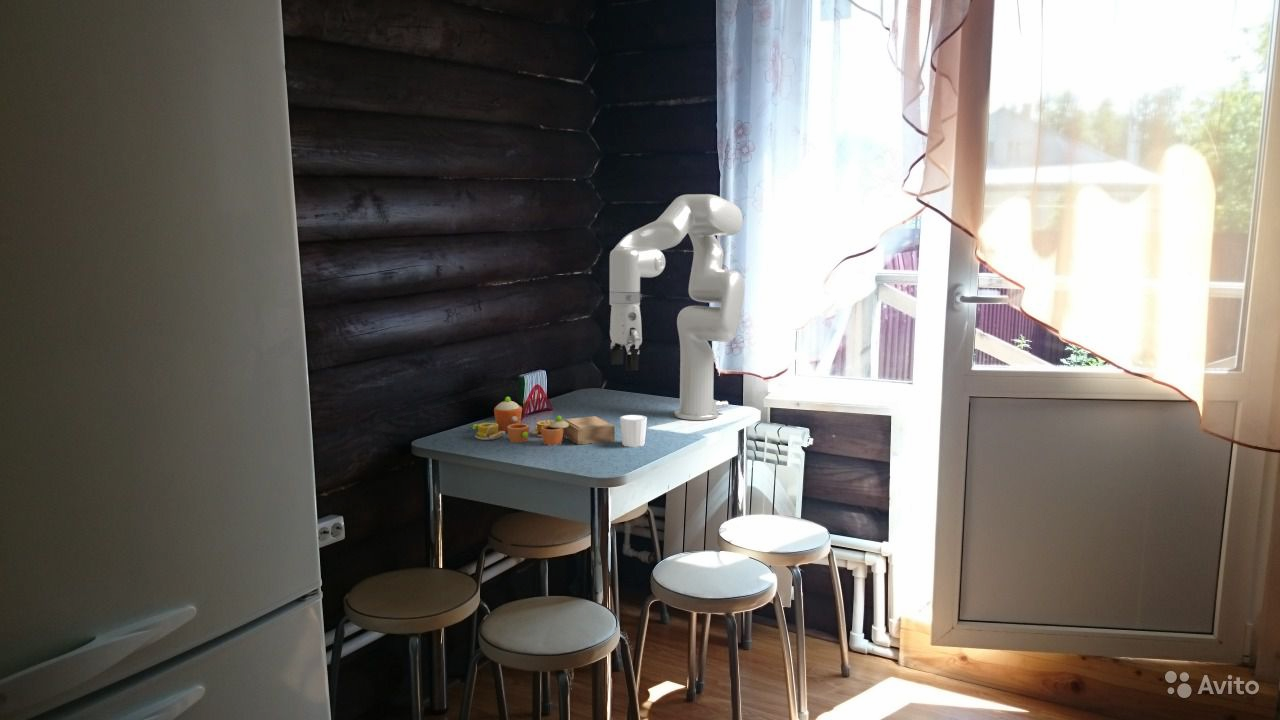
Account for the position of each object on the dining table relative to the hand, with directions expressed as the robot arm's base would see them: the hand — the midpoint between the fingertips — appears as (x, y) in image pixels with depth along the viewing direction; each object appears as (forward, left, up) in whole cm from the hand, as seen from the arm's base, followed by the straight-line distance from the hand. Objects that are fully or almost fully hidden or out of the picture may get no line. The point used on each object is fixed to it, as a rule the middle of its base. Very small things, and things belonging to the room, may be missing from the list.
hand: (624, 367), depth 229 cm
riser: (+6, -9, -19) cm, 22 cm away
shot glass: (-2, +2, -20) cm, 20 cm away
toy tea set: (+20, -17, -20) cm, 33 cm away
